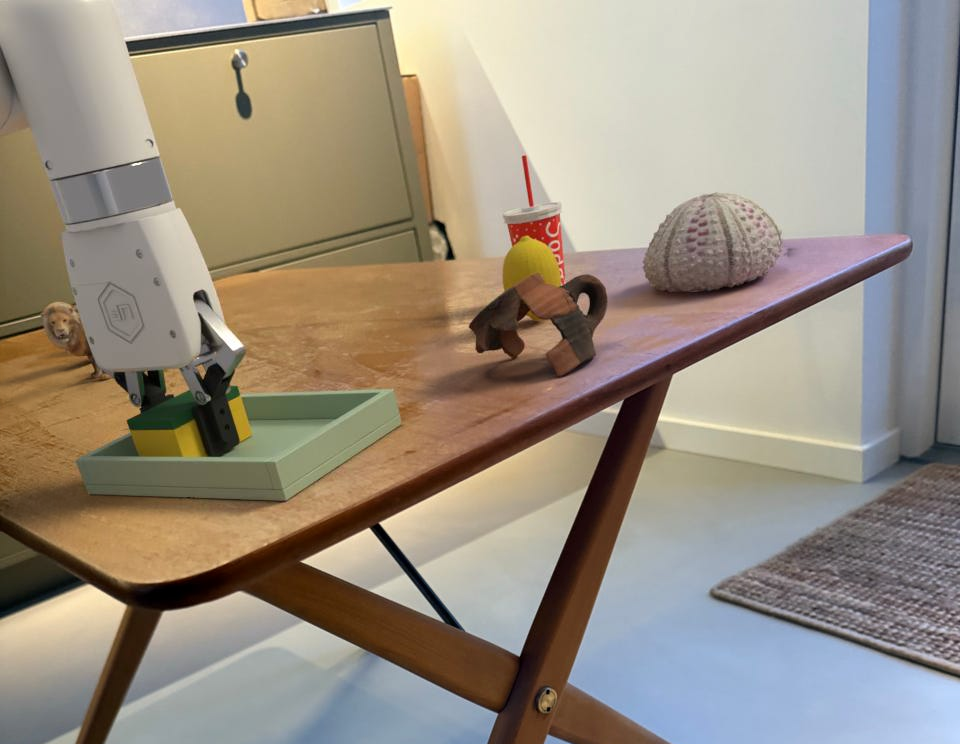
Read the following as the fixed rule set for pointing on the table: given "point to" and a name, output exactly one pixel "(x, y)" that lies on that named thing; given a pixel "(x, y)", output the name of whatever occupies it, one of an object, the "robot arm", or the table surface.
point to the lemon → (530, 265)
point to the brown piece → (544, 318)
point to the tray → (254, 449)
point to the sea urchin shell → (712, 244)
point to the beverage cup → (537, 223)
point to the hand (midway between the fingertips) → (197, 448)
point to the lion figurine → (69, 332)
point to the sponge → (179, 427)
